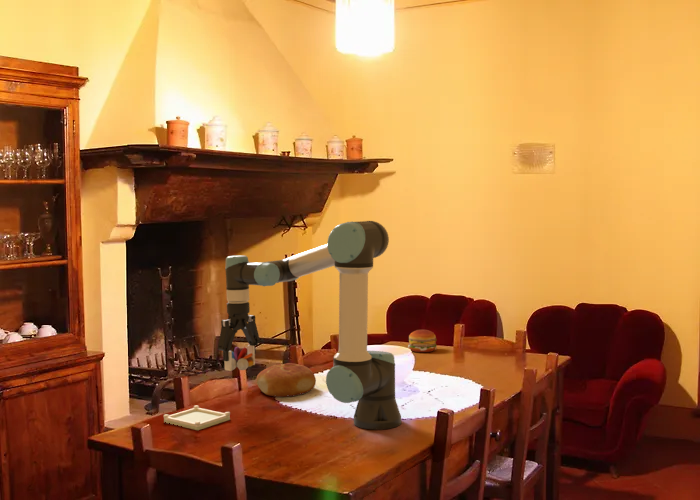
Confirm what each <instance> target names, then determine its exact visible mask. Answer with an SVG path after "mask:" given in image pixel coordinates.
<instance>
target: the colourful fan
mask: <svg viewBox="0 0 700 500" xmlns="http://www.w3.org/2000/svg"><path fill="white" fill-rule="evenodd" d="M252 355H253V354H252V353H250V354H248V355H247V347H243V348H242V349H241V348H240V347H238V346H235V347H234V349H233V351H232V371H233V370H235V369H236V368H237V369H238V370H240V371H246V370H247V369H248V368H251V367H253V366H254V365H253V364H254V359H253V357H252Z"/></svg>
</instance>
